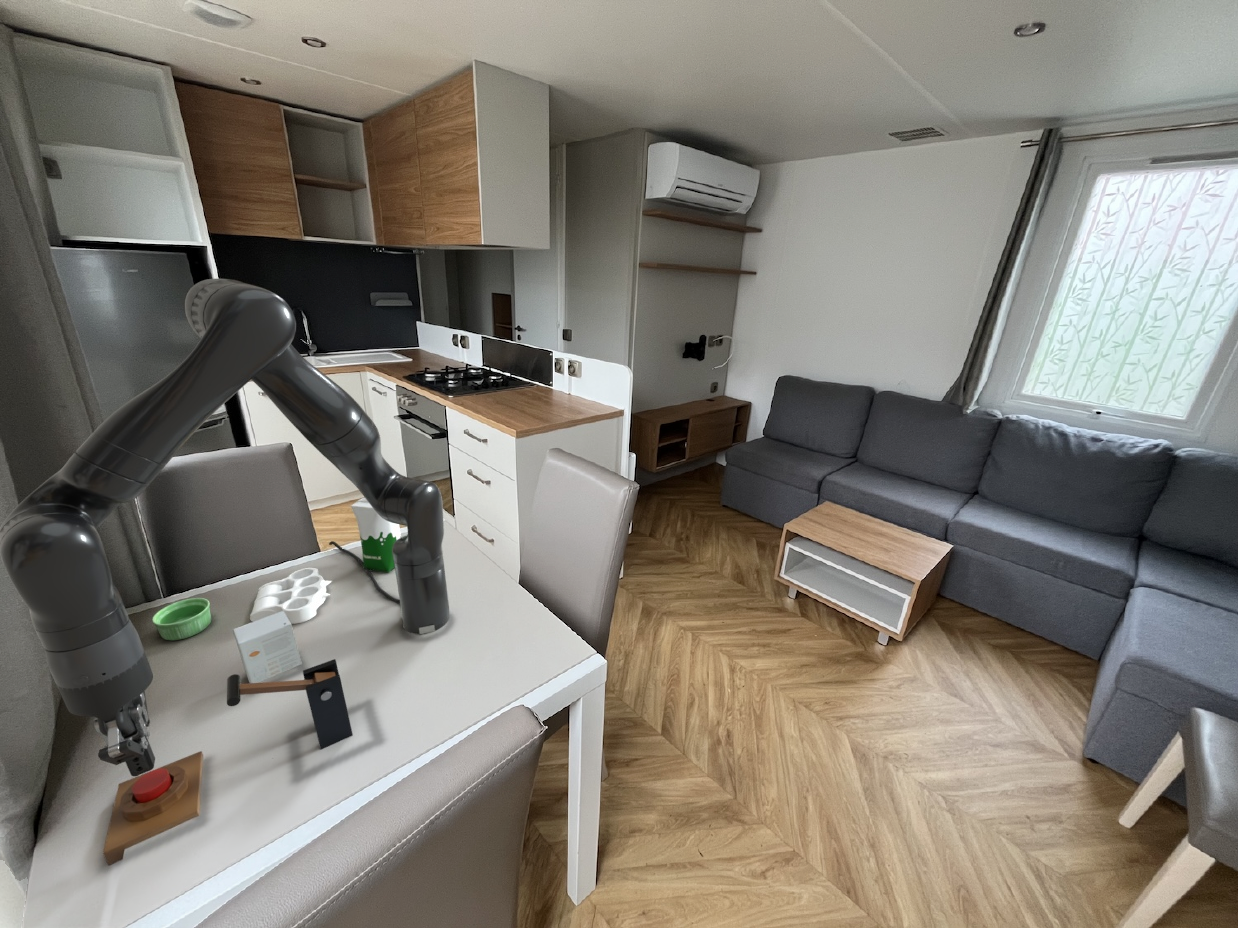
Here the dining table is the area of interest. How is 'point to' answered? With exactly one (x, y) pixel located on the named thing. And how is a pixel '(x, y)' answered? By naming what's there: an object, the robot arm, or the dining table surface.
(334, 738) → the bracket
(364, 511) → the milk carton
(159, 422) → the robot arm
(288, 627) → the small box
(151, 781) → the button
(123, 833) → the button block
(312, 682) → the lever
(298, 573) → the white brass knuckles
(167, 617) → the ramekin
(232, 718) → the dining table surface
